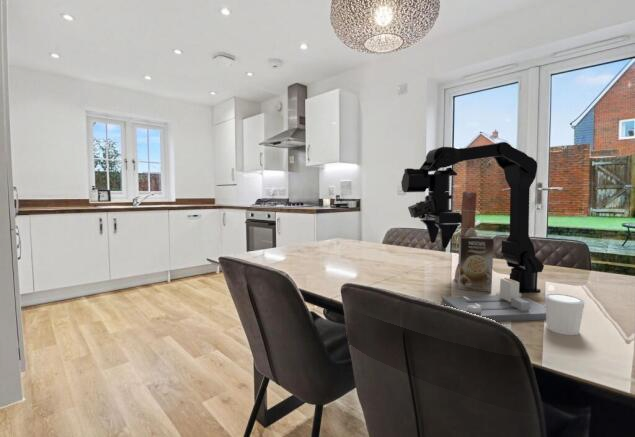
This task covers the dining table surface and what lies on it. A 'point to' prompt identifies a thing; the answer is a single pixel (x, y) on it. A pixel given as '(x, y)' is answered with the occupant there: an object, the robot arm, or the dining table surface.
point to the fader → (509, 289)
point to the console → (498, 307)
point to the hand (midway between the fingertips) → (438, 245)
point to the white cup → (563, 313)
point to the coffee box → (475, 263)
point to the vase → (468, 217)
